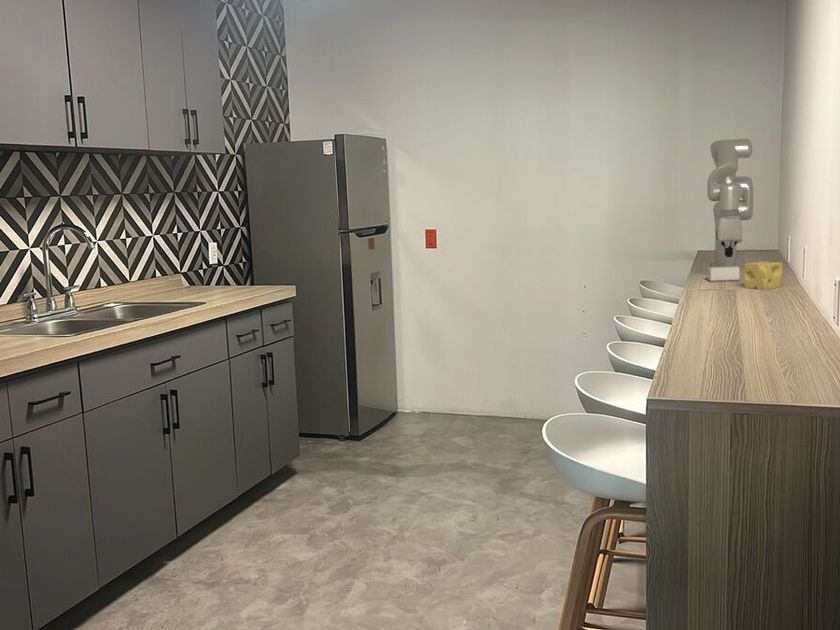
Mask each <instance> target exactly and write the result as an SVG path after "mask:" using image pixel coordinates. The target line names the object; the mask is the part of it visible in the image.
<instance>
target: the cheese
mask: <svg viewBox="0 0 840 630" xmlns="http://www.w3.org/2000/svg"><path fill="white" fill-rule="evenodd" d="M743 271H744V273H743V274H744V278H743V279H744V280H743V283H744V288H747V289H757V290H761V291H765V290H771V289H778V288H779V287H780V288H781V286H782V282H783V275H784V274H783V273H784V272H783V263H782V262H780V261H779V262H777V261H776V262H775V261H773V262H772V261H756V262H748V263H744V269H743Z"/></svg>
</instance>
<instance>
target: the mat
mask: <svg viewBox="0 0 840 630" xmlns="http://www.w3.org/2000/svg"><path fill="white" fill-rule="evenodd" d="M704 280H705V281H707V282H709V283H725V282H726V283H727V282H730V283H731V282H740V279H735V280H709V279H708V277H706V278H704Z"/></svg>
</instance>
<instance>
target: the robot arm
mask: <svg viewBox="0 0 840 630" xmlns="http://www.w3.org/2000/svg"><path fill="white" fill-rule="evenodd" d="M710 153H711V158H712V160H713V162H714V165H715V169H713V171H712V172H711V173H710V174H709V175H708V178H707V183H706V186H707V187H706V189H707V192H706V193H707V198H708V200H709V201H710V202H715V203H714V204H713V210H712V213H713V219H714V232H715V237H714V238H715V239H714V257H715V258H714V264H711V267H732V266H738V267H740V268H741V265H740V264H739V263H737V245H738V244H741V243H742V242H743V239H742V238H743V227H742V221H748V220H751V219H752V217H753V215H754V184H753V180H752V178H751V177H749V176H746V175H745V176H741V175H740V176H737V174H736V173H737V171H738V170H739V159H750V158H751V157H752V154H753V143H752V141H751V139H749V138H737V139H735V138H734V139H720V140H716V141H713V142H711V145H710ZM741 198H742V199H741Z"/></svg>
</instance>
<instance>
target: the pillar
mask: <svg viewBox="0 0 840 630" xmlns="http://www.w3.org/2000/svg"><path fill="white" fill-rule="evenodd" d="M707 268H708V269H707V272H708V274H707V278H708V279H709V280H735V279H738V280H741V266H740V267H738V266H732V267H712V266H711V267H707Z"/></svg>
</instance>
